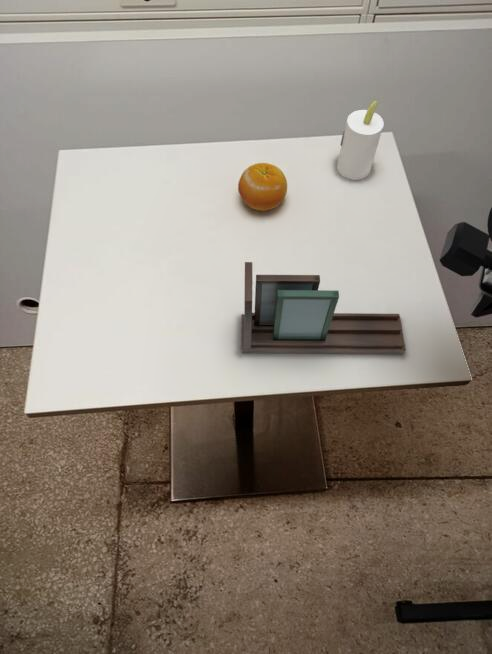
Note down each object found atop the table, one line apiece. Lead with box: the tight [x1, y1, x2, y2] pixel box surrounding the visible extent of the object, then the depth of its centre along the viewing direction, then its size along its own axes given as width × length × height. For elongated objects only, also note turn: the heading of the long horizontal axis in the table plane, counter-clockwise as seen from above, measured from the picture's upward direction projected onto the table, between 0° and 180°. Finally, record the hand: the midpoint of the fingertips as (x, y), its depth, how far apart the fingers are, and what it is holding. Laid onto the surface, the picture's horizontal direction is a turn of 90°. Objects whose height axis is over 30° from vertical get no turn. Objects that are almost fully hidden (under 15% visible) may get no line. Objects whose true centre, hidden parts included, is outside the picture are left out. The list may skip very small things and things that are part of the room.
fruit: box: [237, 162, 288, 212], centre depth 89 cm, size 8×8×8 cm
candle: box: [336, 99, 385, 181], centre depth 89 cm, size 6×6×15 cm
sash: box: [273, 289, 340, 341], centre depth 71 cm, size 8×1×13 cm, turn 90°
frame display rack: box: [240, 261, 406, 355], centre depth 72 cm, size 25×6×16 cm, turn 90°
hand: (473, 313), depth 66 cm, fingers closed
